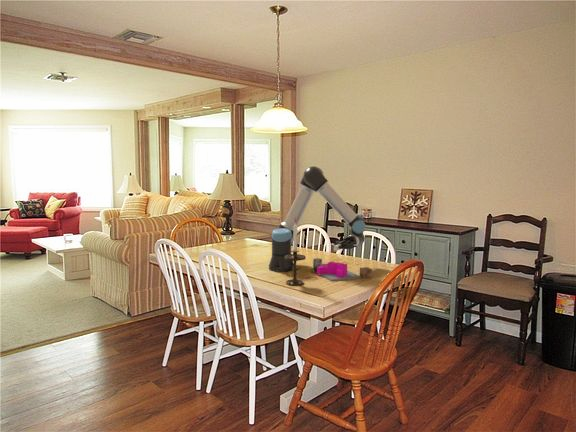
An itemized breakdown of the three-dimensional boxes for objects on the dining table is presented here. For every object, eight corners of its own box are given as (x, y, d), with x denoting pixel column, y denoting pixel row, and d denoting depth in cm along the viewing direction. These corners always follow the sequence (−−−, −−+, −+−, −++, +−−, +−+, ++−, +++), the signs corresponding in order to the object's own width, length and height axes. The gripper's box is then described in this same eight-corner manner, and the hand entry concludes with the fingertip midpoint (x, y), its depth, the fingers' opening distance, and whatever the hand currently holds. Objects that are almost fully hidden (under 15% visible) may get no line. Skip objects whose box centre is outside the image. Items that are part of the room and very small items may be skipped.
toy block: (347, 263, 231) (341, 266, 225) (347, 274, 231) (341, 277, 225) (323, 260, 239) (317, 262, 233) (323, 271, 240) (316, 273, 233)
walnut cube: (363, 278, 228) (363, 269, 227) (359, 276, 233) (359, 267, 232) (371, 278, 229) (372, 269, 229) (367, 275, 234) (367, 267, 233)
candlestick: (283, 280, 222) (284, 215, 218) (304, 280, 223) (304, 215, 219) (285, 286, 212) (285, 218, 208) (306, 286, 212) (307, 218, 208)
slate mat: (331, 281, 222) (331, 279, 222) (316, 273, 239) (316, 271, 238) (360, 278, 229) (360, 276, 229) (344, 270, 245) (344, 268, 245)
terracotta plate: (322, 268, 251) (322, 263, 251) (320, 266, 256) (320, 262, 255) (335, 268, 251) (335, 263, 251) (333, 266, 256) (333, 261, 256)
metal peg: (315, 272, 241) (315, 260, 240) (311, 270, 246) (311, 258, 245) (323, 271, 243) (323, 259, 242) (319, 269, 248) (319, 258, 247)
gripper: (361, 249, 245) (346, 256, 224) (340, 247, 251) (324, 254, 231) (361, 236, 244) (346, 242, 223) (340, 234, 250) (324, 240, 230)
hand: (335, 248), depth 227 cm, fingers closed
